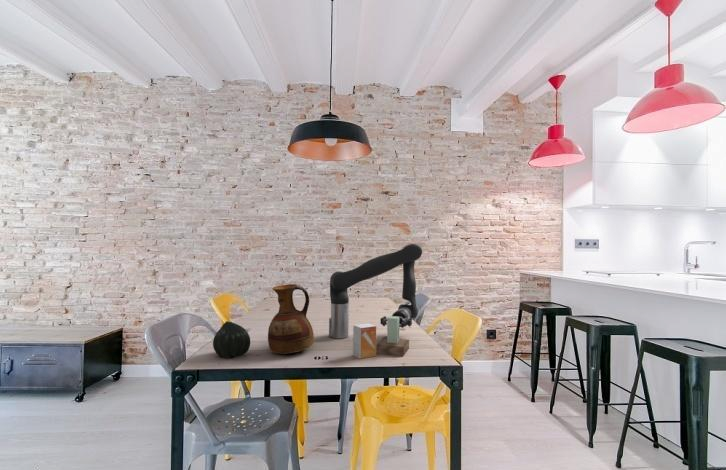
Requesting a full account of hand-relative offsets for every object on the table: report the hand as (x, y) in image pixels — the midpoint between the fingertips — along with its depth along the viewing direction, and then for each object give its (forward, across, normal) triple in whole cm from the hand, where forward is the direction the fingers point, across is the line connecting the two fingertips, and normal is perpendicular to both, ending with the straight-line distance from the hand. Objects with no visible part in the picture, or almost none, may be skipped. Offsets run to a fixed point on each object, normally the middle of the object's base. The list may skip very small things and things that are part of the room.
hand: (392, 324), depth 164 cm
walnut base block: (-1, 0, +12) cm, 12 cm away
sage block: (-1, 0, +8) cm, 8 cm away
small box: (+10, -10, +12) cm, 18 cm away
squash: (+29, -64, +12) cm, 71 cm away
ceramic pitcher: (+15, -43, +12) cm, 47 cm away
